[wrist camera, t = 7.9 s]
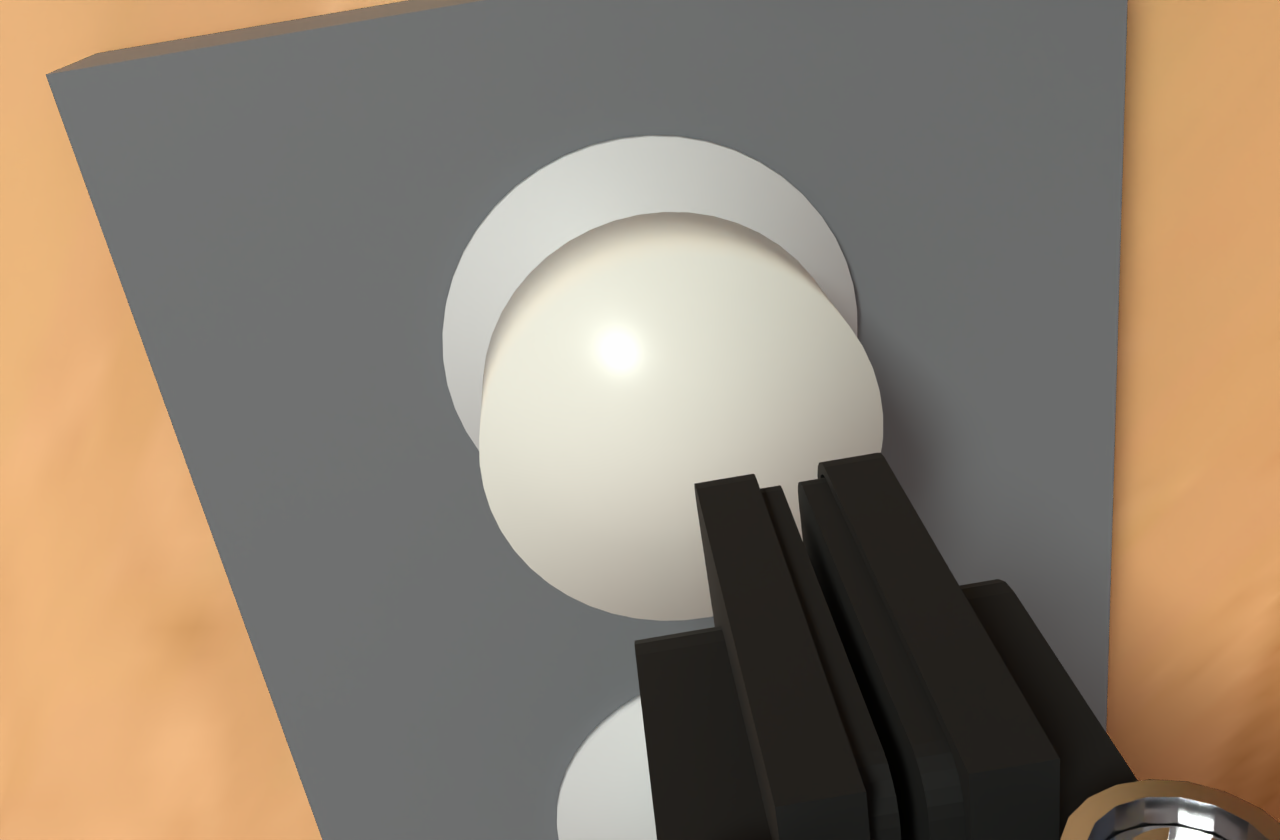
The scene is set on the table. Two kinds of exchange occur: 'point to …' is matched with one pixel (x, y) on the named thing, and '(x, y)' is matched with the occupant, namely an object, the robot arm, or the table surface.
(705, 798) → the robot arm
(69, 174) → the table surface
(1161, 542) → the table surface
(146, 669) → the table surface
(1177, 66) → the table surface
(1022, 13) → the button board
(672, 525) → the cream button
